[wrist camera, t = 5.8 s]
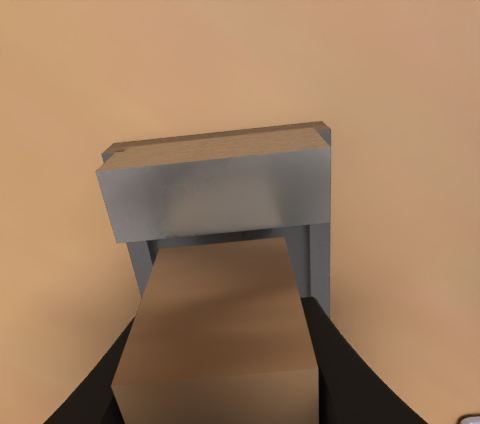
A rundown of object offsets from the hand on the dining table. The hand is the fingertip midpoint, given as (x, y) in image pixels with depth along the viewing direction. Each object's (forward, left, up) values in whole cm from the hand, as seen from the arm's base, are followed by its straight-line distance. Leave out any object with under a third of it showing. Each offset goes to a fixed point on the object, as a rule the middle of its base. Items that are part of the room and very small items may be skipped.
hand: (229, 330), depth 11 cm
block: (0, 0, -2) cm, 2 cm away
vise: (0, +4, -5) cm, 7 cm away
